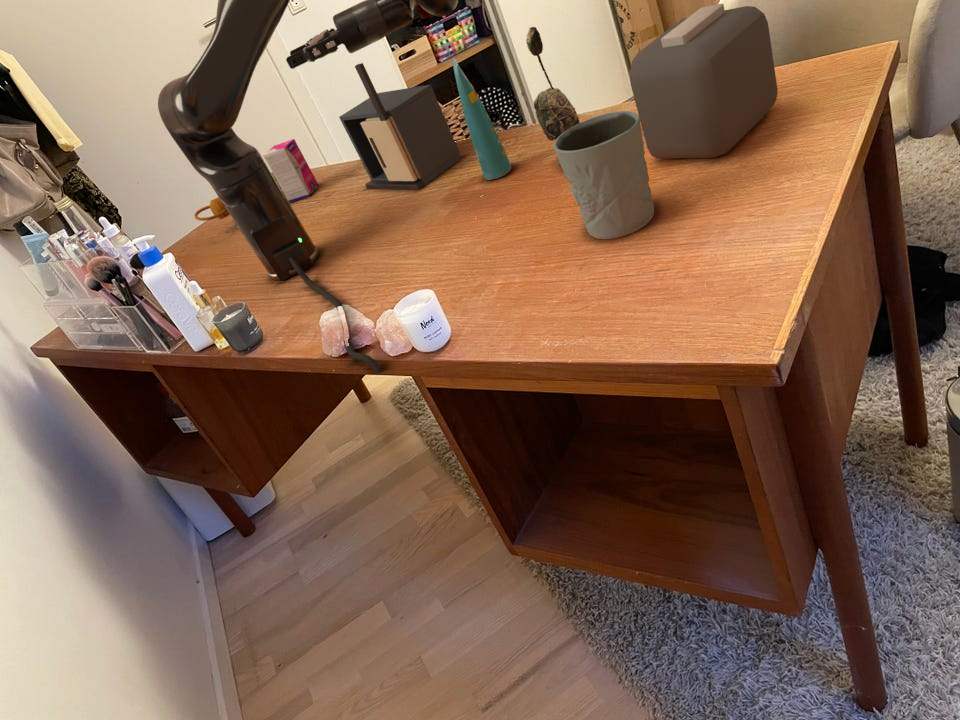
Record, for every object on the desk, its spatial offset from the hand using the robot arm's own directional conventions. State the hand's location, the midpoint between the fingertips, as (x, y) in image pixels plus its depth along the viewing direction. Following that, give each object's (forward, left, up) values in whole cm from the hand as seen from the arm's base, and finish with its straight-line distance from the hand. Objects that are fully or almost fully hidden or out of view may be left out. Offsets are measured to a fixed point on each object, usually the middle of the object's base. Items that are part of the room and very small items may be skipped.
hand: (290, 60), depth 139 cm
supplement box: (+2, +11, -26) cm, 28 cm away
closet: (-22, -11, -25) cm, 35 cm away
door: (-28, -7, -24) cm, 38 cm away
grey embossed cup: (-81, -25, -26) cm, 89 cm away
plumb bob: (+7, +23, -26) cm, 35 cm away
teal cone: (-45, -21, -26) cm, 56 cm away
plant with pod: (-56, -31, -26) cm, 69 cm away
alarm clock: (-73, -45, -26) cm, 90 cm away
